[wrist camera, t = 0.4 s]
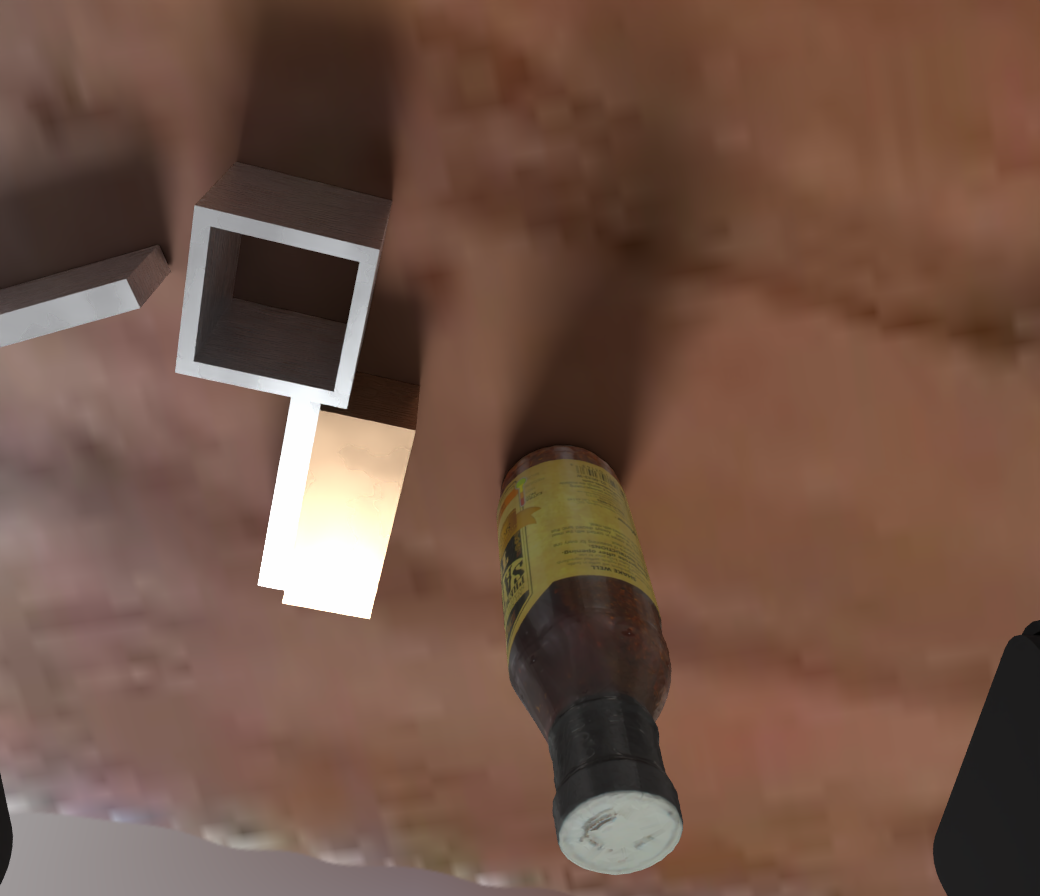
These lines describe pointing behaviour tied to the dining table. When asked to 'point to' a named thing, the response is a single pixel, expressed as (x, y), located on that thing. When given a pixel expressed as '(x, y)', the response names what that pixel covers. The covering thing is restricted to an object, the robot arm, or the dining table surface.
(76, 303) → the leaf loose
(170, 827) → the dining table surface
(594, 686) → the sauce bottle
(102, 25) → the dining table surface
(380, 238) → the hinge base
